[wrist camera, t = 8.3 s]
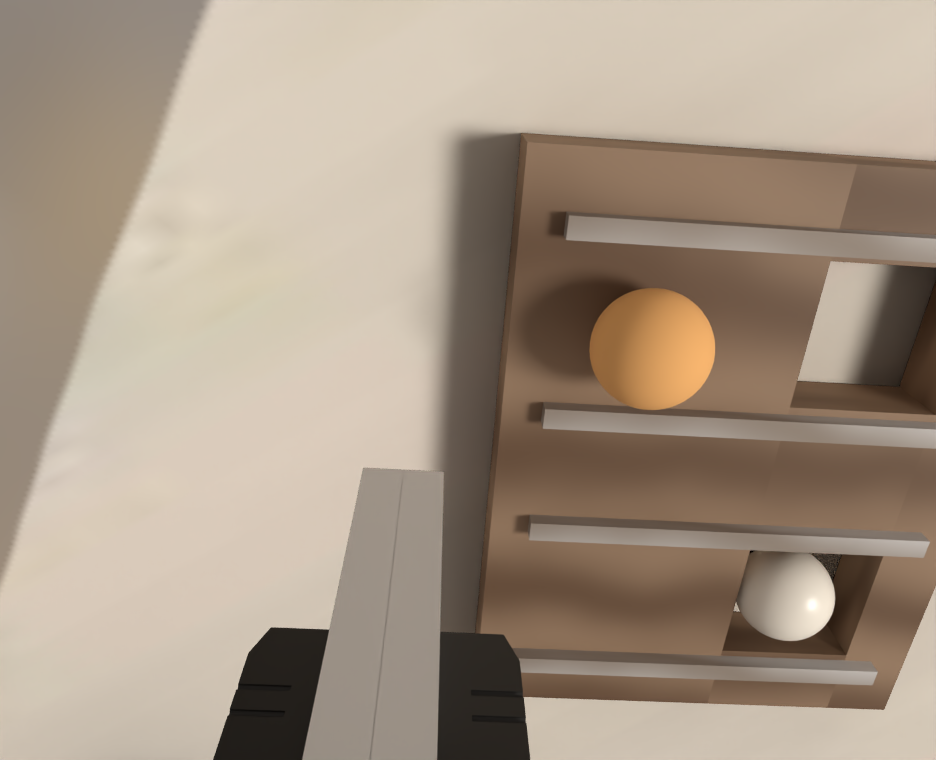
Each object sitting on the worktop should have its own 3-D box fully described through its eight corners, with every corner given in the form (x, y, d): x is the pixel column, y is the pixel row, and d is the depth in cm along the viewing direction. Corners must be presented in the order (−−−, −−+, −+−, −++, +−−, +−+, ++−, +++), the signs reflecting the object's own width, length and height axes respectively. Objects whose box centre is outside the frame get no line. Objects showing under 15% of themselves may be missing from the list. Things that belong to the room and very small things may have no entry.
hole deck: (857, 667, 36) (891, 720, 34) (473, 653, 36) (474, 705, 33) (1048, 168, 26) (1119, 184, 24) (521, 132, 26) (529, 144, 23)
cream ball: (815, 676, 30) (717, 637, 32) (822, 614, 34) (732, 582, 35) (845, 603, 29) (739, 566, 30) (849, 545, 32) (753, 514, 33)
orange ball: (682, 382, 27) (718, 435, 23) (574, 376, 27) (592, 429, 23) (704, 276, 25) (746, 315, 22) (589, 269, 25) (611, 308, 22)
